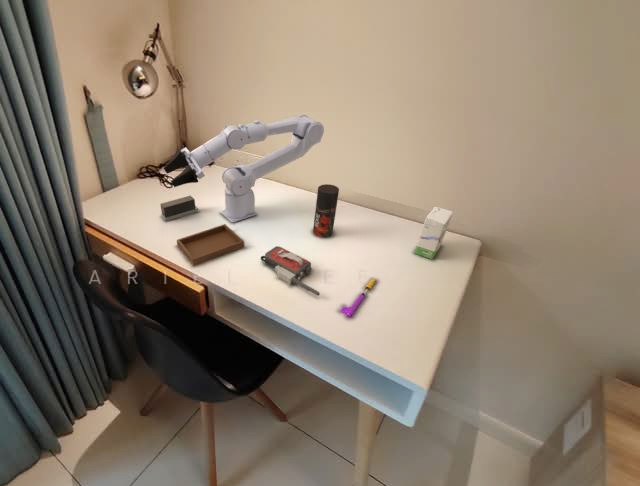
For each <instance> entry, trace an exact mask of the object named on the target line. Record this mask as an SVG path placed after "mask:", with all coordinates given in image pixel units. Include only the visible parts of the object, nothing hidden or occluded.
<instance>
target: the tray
mask: <svg viewBox="0 0 640 486" xmlns="http://www.w3.org/2000/svg"><path fill="white" fill-rule="evenodd" d="M176 246H177V247H178V248H179V250H180V251H181V253H182V254H183V256H184V257H186V259H187V260H188V261H189V262H190V264H191V265H192V266H193V267H196V266H199V265H201V264H205V263H206V262H209V261H211V260H215V259H218V258H220V257H223V256H225V255H227V254H231V253H233V252H237V251H239V250H241V249H245V241H244V239H242V238H241V237H240V236H239V235H238V234H237V233H236V232H235V231H234V230H233V229H232V228H230V227H229V226H228V225H227V224H226V223H224V224H221V225H218V226H215V227H211V228H209V229H205V230H203V231H200V232H199V231H198V232H196V233H193V234H190V235H187V236H183V237H181V238H178V239H176Z"/></svg>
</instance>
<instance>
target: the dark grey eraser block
mask: <svg viewBox="0 0 640 486" xmlns="http://www.w3.org/2000/svg"><path fill="white" fill-rule="evenodd" d="M159 205H160V211H161V214H160V216H161V218H162V219H163V220H164V221H165V222H169V221H172V220H174V219H178V218H181V217H185V216H188V215H191V214H195V213H198V212H199V208H198V207H197V206H196V200H195V198H194V197H193V196H192V195H187V196H183V197H179V198H176V199H172V200H168V201H166V202H162V203H159Z"/></svg>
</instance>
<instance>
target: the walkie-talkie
mask: <svg viewBox="0 0 640 486" xmlns="http://www.w3.org/2000/svg"><path fill="white" fill-rule="evenodd" d="M260 260H261V261H262V262H263V263H264V264H265V265H267V266H269V267H270V268H272V269H274V272H276V274H277V277H278V278H279V279H281V280H283V281H285V282H286V283H287V284H289V285H291V284H292V283H293V284H294V285H296V286H299V287H301V288H302V289H304V290H306V291H308V292H311V293H312V294H314V295H316V296H320V292H319V291H318V290H316V289H314V288H312V287H311V286H309V285H308V284H305V283H303V282H302V281H301V280H302V277H304V276H305V275H309V274H311V272H312V270H313V269H312V267H311V266H312V262H311V261H309V260H308V259H305V258H304V257H301V256H300V255H298V254H295V253H293V252H291V251H290V250H287V249H286V248H284V247H282V246H275V247H273V248H271V249H270V250H268V251H267V252H265V253H264V255H261V256H260Z"/></svg>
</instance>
